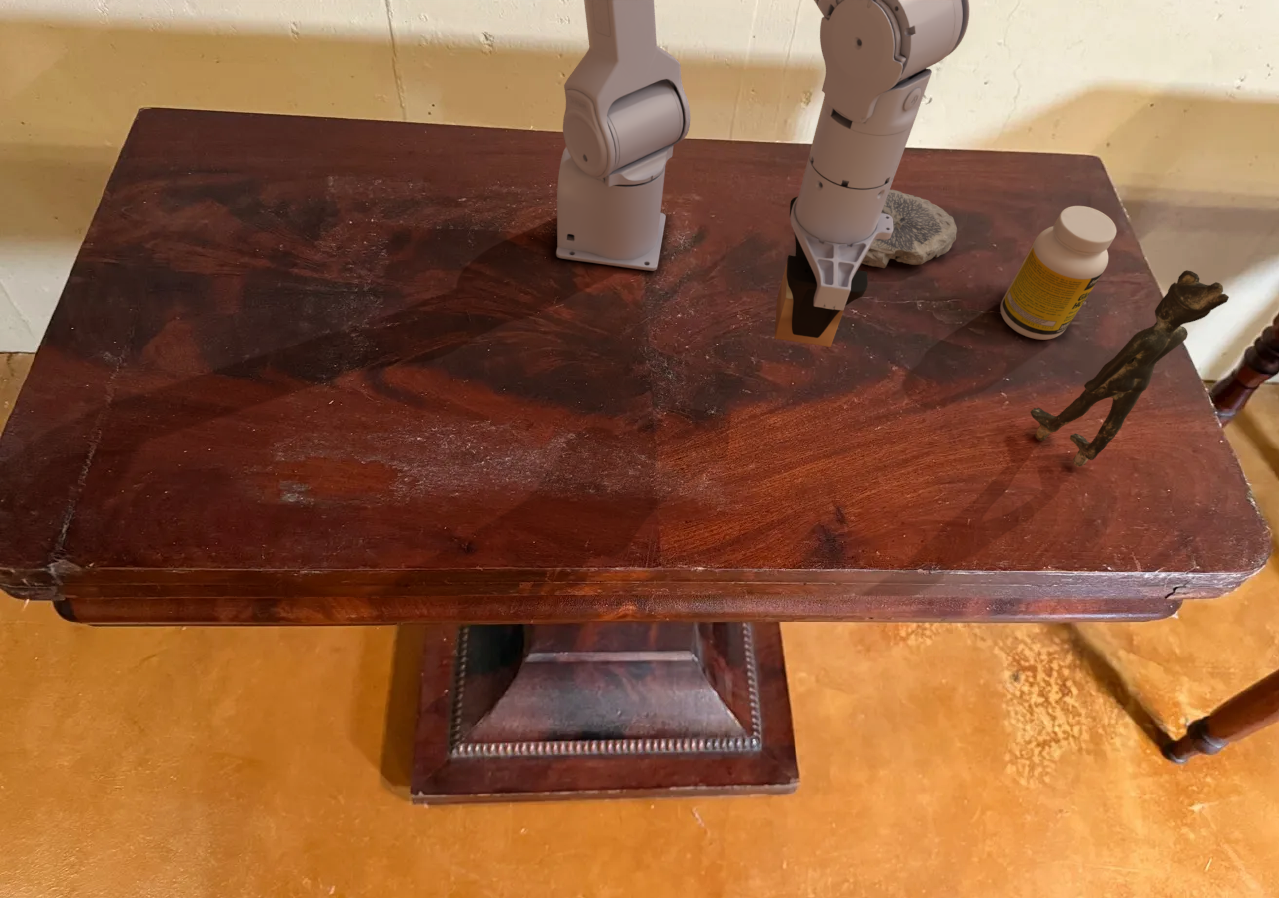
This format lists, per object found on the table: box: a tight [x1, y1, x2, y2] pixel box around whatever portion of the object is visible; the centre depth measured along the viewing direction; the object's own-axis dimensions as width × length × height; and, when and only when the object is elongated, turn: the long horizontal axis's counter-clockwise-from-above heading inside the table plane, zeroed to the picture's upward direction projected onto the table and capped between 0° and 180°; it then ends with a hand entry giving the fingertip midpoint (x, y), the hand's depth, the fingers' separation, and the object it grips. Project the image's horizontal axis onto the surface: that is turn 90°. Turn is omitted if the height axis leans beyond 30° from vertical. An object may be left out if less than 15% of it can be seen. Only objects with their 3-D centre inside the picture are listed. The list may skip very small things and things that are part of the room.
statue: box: [1030, 270, 1230, 468], centre depth 65 cm, size 5×6×20 cm
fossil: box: [860, 189, 958, 269], centre depth 86 cm, size 11×4×10 cm
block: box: [774, 262, 846, 348], centre depth 68 cm, size 4×4×4 cm
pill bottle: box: [999, 205, 1117, 341], centre depth 78 cm, size 6×6×11 cm
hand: (806, 310), depth 69 cm, fingers closed on block, 4 cm apart
